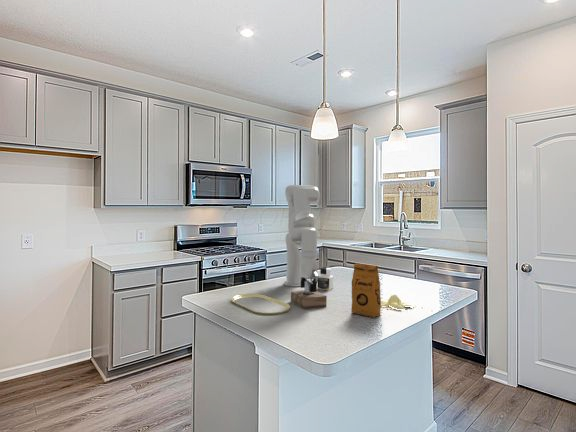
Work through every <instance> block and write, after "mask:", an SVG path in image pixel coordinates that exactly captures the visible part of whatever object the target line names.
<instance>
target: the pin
mask: <svg viewBox="0 0 576 432" xmlns="http://www.w3.org/2000/svg"><path fill="white" fill-rule="evenodd" d="M310 284H311V282H310V279H307V280H306V281H305V288H304V290H305V295H312V292H310Z"/></svg>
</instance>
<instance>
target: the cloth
mask: <svg viewBox="0 0 576 432" xmlns="http://www.w3.org/2000/svg"><path fill="white" fill-rule="evenodd" d="M387 300H388V301H387V302H386V301H385V300H384V301H382V300H381V307H382V306H389V305H390V306H392V307H394V308H397V309H407V308H404V307H405V306H412V305H403V304H405V303H406V304H409V303H408V302H402V300H401V299H400V297H399V296H398V295H397V294H391V295H390V296H389V298H388V299H387Z"/></svg>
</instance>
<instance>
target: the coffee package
mask: <svg viewBox="0 0 576 432" xmlns="http://www.w3.org/2000/svg"><path fill="white" fill-rule="evenodd" d="M353 267H354V268H353V271H352V278H351V279H352V280H351V313H352V314H353V313H354V314H357V315H360V314H361V316H365V317H368V316H369V318H370V317H371V318H373V317H376V316H377V317H378V315H379V316H381V309H382V308H381V301H382V300H381V299H382V297H381V282H380V275H379V273H380V272H379V269H378V265H370V264H363V263H354V265H353ZM377 317H376V318H377Z"/></svg>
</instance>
